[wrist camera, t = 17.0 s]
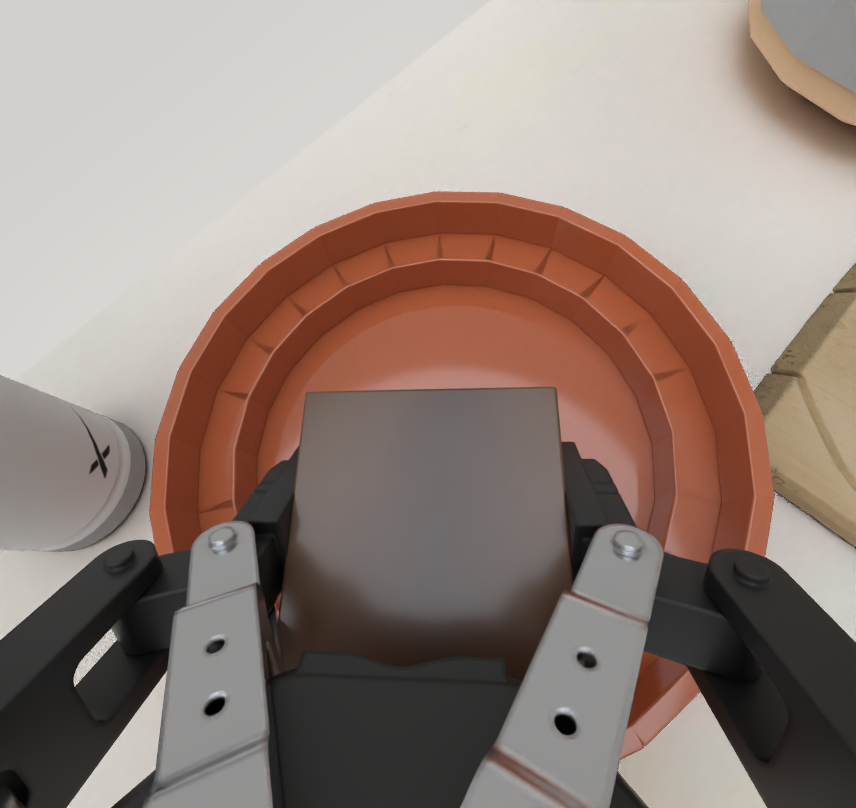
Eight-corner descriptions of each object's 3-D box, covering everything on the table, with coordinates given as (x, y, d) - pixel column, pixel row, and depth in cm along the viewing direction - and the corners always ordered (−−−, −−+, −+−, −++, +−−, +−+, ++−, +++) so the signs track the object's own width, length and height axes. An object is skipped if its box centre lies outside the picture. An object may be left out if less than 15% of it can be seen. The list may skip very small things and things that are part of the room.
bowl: (145, 426, 22) (65, 393, 17) (475, 193, 25) (475, 117, 20) (400, 890, 15) (371, 1022, 11) (818, 491, 18) (926, 468, 13)
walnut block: (354, 628, 16) (269, 674, 9) (366, 453, 18) (304, 390, 11) (536, 634, 15) (584, 688, 9) (525, 452, 17) (557, 385, 11)
